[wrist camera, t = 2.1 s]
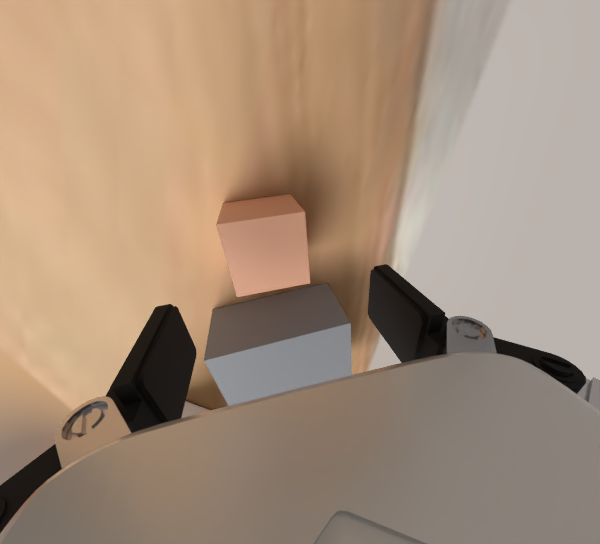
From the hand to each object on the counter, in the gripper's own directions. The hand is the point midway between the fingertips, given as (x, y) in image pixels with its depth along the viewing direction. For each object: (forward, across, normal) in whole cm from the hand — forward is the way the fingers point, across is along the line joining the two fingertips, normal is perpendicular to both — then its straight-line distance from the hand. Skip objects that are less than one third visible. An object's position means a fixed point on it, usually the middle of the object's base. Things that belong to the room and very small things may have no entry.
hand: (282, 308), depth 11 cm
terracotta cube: (+9, 0, -1) cm, 9 cm away
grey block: (+10, 0, +11) cm, 15 cm away
